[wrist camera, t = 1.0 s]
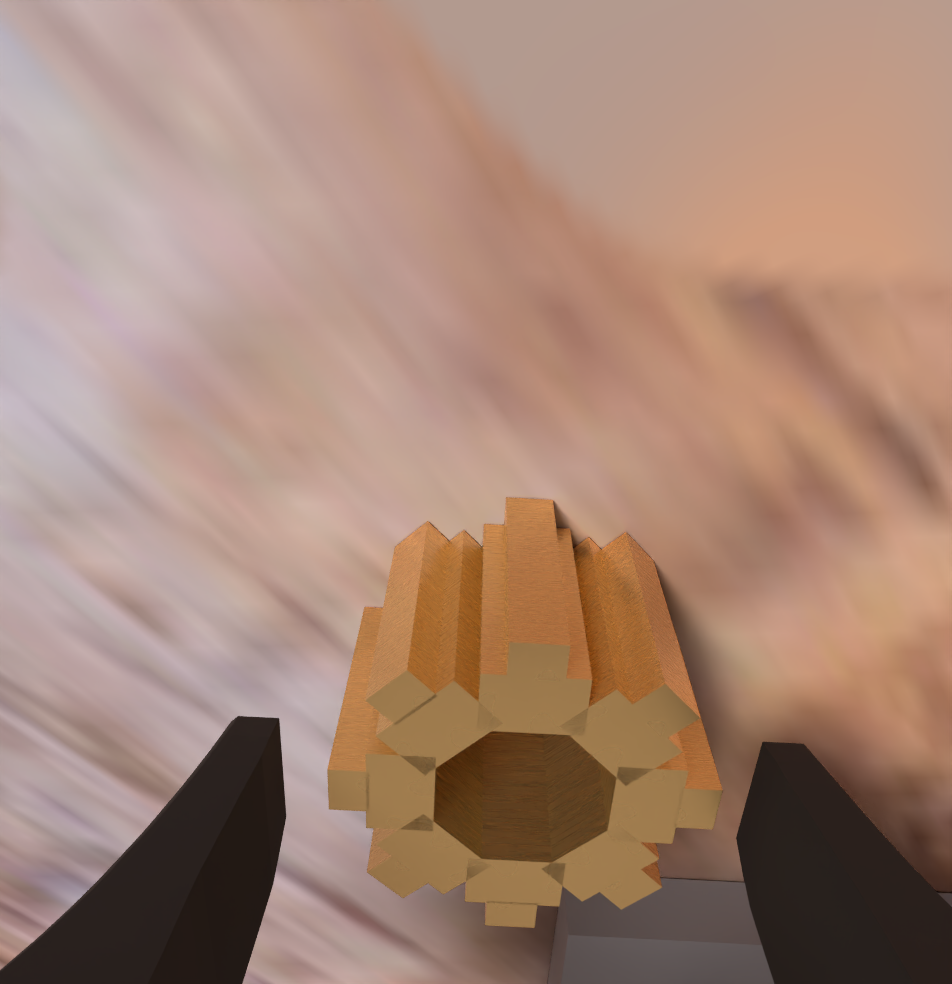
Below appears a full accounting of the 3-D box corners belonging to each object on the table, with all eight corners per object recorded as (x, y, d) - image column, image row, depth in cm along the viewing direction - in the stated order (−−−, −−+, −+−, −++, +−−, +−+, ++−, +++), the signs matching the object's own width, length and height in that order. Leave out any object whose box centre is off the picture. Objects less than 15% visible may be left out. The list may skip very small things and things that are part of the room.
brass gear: (695, 507, 15) (757, 655, 11) (648, 754, 18) (685, 935, 14) (363, 489, 15) (322, 632, 11) (365, 739, 18) (333, 917, 14)
